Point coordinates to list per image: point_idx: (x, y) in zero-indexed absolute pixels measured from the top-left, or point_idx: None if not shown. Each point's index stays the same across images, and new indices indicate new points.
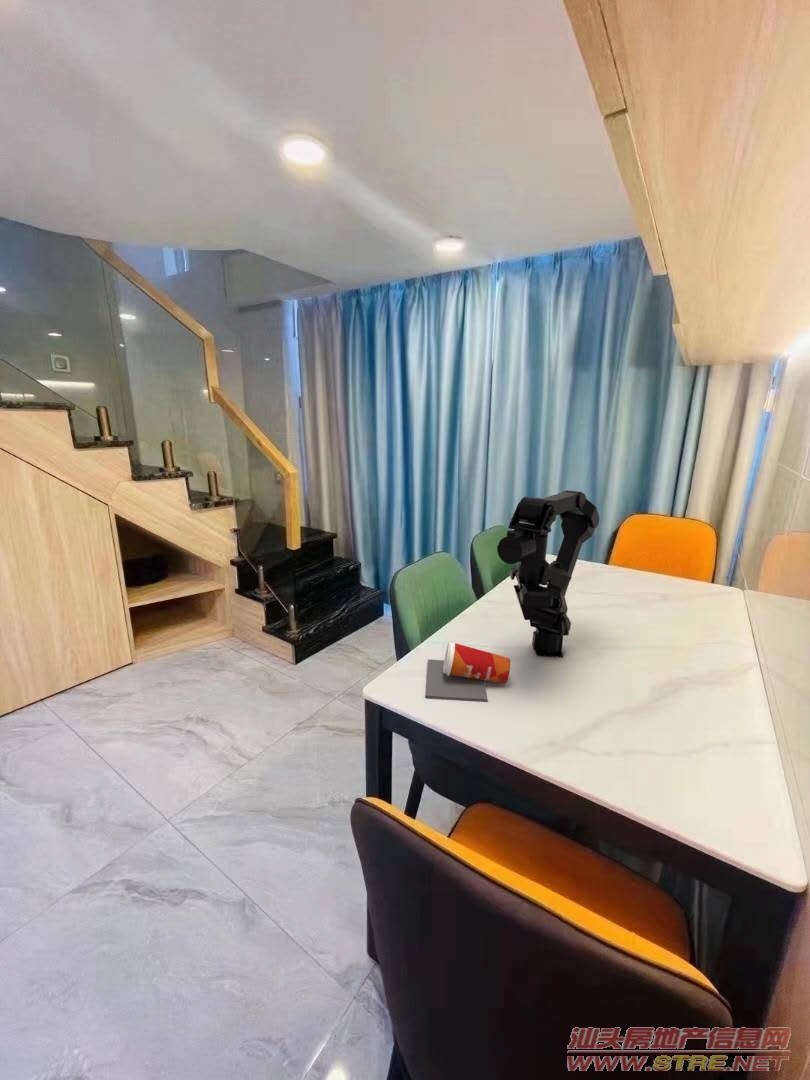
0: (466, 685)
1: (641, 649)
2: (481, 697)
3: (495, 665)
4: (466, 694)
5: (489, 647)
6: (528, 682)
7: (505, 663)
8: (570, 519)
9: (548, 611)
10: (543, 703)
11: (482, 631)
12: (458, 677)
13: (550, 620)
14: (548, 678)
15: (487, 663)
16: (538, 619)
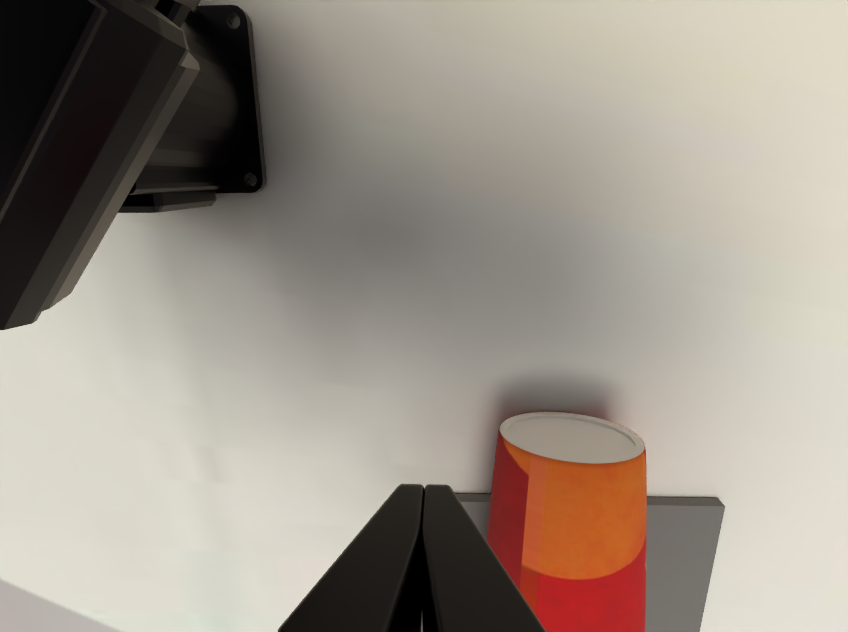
0: None
1: None
2: (709, 528)
3: (643, 541)
4: (683, 580)
5: (218, 439)
6: (556, 294)
7: (628, 490)
8: None
9: (28, 121)
10: (748, 255)
11: (38, 455)
12: None
13: (150, 101)
14: (511, 174)
15: (643, 589)
16: (98, 231)
